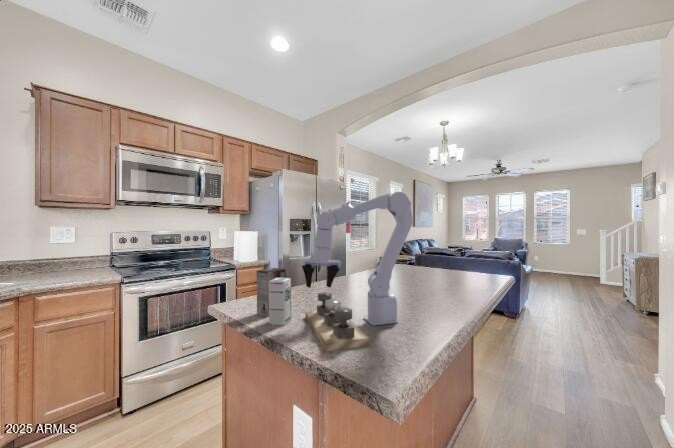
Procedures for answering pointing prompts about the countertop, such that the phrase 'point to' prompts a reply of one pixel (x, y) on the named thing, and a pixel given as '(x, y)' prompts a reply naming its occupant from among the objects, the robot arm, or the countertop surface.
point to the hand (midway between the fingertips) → (318, 286)
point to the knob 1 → (324, 297)
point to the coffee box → (266, 288)
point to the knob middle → (332, 305)
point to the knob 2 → (343, 316)
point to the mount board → (335, 331)
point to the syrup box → (279, 301)
